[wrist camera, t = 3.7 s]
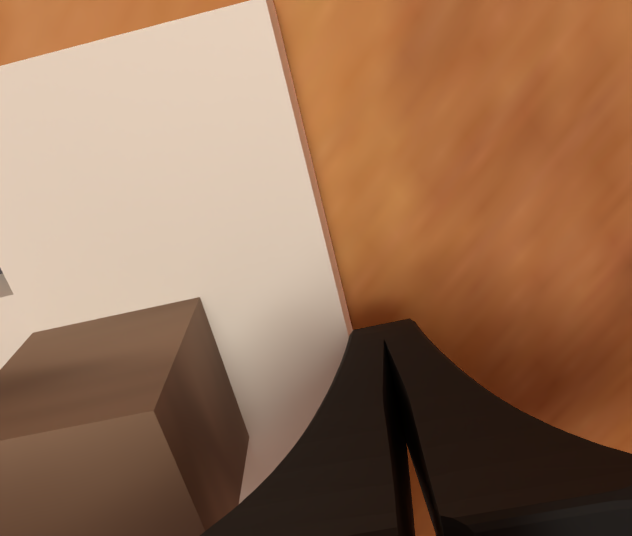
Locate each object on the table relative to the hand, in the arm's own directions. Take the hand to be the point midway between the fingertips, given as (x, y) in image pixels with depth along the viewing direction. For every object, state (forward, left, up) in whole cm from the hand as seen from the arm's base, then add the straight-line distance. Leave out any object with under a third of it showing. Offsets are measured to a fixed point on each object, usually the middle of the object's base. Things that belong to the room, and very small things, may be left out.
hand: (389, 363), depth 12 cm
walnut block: (0, +6, -1) cm, 6 cm away
